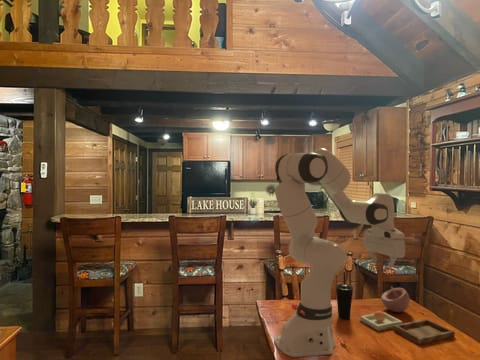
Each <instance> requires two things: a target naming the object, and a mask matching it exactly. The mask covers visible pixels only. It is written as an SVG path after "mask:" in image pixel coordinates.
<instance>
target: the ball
mask: <svg viewBox="0 0 480 360" xmlns="http://www.w3.org/2000/svg"><path fill="white" fill-rule="evenodd" d="M383 312H384V311H383V310H382V311H381V310H376V311H375V312H374V313H373V314H374V317H375V319H376V320H377V321H379V322H383V321H384V320H385V314H384V313H383Z"/></svg>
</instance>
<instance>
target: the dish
mask: <svg viewBox="0 0 480 360" xmlns="http://www.w3.org/2000/svg"><path fill="white" fill-rule="evenodd" d="M393 331H394V332H396V333H397V334H400V335H401V336H403V337H404V338H406V339H408V340H410V341H412V342H413V343H415V344H417V345H418V346H422V345H427V344H432V343H435V342H439V341H440V342H441V341H445V340H448V339H449V338H450V339H454V338H455V337H456V336H455V335H456V334H455V331H454V330H452V329H450V328H447V327H445V326H443V325H441V324H439V323H438V322H437V323H436V322H435V321H433V320H430V319H429V318H426V319H420V320H415V321H414V320H413V321H409V322H404V323H402V324H398V325H394V328H393ZM450 339H449V340H450Z"/></svg>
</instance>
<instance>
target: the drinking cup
mask: <svg viewBox="0 0 480 360" xmlns="http://www.w3.org/2000/svg"><path fill="white" fill-rule="evenodd" d="M335 289H336V291H335V292H336V305H337V315H338V318H339V319H341V320H343V321H347V320H348V321H349V320H350V319H351V314H352V313H351V311H352V302H353V300H352V299H353V292H354V286H352V285H350V284H349V283H346V272H345V271H344V272H343V283H338V284H335Z"/></svg>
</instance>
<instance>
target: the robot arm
mask: <svg viewBox="0 0 480 360" xmlns="http://www.w3.org/2000/svg"><path fill="white" fill-rule="evenodd" d="M274 165H275V166H274V172H275V175H276V181H277V182H278V185H277V186H276V187H275V189H274V195H275V198H276V202H277V205H278V208H279V211H280V213H281V215H282V217H283V219H284V222H285V224H286V226H287V227H286V228H287V229H288V231H289V235H290V240H289V244H288V253H289V255H290V257H291V258H293V259H294V260H295V261H297V262H298V263H301V264H304V265H306V266H309V272H308V276H306V277H304V278H303V279H302V280H301V283H300V301H299V304H298V305H297V304H296V303H292V304H291V305H290V306H291V309H293V310H294V311H296V313H294V314H293V315H292V316H291V317H290V318H289V319H287V320H286V321H285V322H283V324H282V326H281V330H280V334H279V335H275V337H274V344H275V345H276V347H277V348H278V349H279V350H280V351H281V352H282V353H283V354H285V355H287V356H288V357H291V358H299V357H312V356H313V357H314V356H323V355H332V354H333V349H334V348H335V346H336V341H335V336H334V333H333V325H332V324H333V323H332V317H333V305H332V285H333V282H334V278H335V276H336V275H337V274H338V273H339V272H341V271H342V270H343V269H344V268H345V266H346V264H347V257H348V255H347V252H346V250H345V247H343V246H342V245H340V244H338V243H337V242H335V241H332V240H328V239H324V238H320V237H318V235H317V234H316V232H315V229H316V228H317V226H318V223H319V220H318V218H317V216H316V212H315V211H314V208H313V206H312V204H311V201H310V199H309V197H308V194H306V189H305V187H306V186H305V185H306V184H315V183H318V182H319V183H320V184H321V185H322V186H323V191H324V192H325V193H326V195H327V196H328V198H329V199H330V201H331V202H332V203H333V205H334V206H335V207H336V208H337V209H338V212H339V214H340V217H341V219H342V220H343V221H344V222H346V223H350V224H360V225H367V226H368V225H369V226H371V228H367V229H365V230H364V234H363V240H362V247H363V250H364V249H365V250H368V252H369V255H370V258H371V262H375V263H376V262H378V257H376V253H378V254H381V255H386V256H389V259H390V261H388V262H387V267H389V268H394V267H395V263H396V262H397V261H396V260H397V259H403V258H404V257H405V256H406V244H405V243H406V242H405V240H404V238H405V233H403V232H402V231H401V230H399V229H397V228H396V227H395V223H394V217H395V203H394V199H393V196H392V195H391V194H389V193H381V192H377V193H373V195H372V197H371V198H369V199H368V200H366V201H365V200H354V199H351V198H350V197H348V196H347V195H346V192H344V191H345V190H346V189H347V188H348V186H349V185H350V182H351V177H352V176H351V173H350V171H349V169H348V168H347V167H346V165H345V164H344V163H343V162H342V161H341V160H340V159H339V158H338V157H337V156H336V155H335V154H333V153H332V152H330V151H329V150H328V149H326V148H323V147H321V148H316V149H314V150H313V151H312V152H293V153H287V154H283V155H282V156H280V157H279V158H278V159H277V160H276V161H275V164H274Z"/></svg>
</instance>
